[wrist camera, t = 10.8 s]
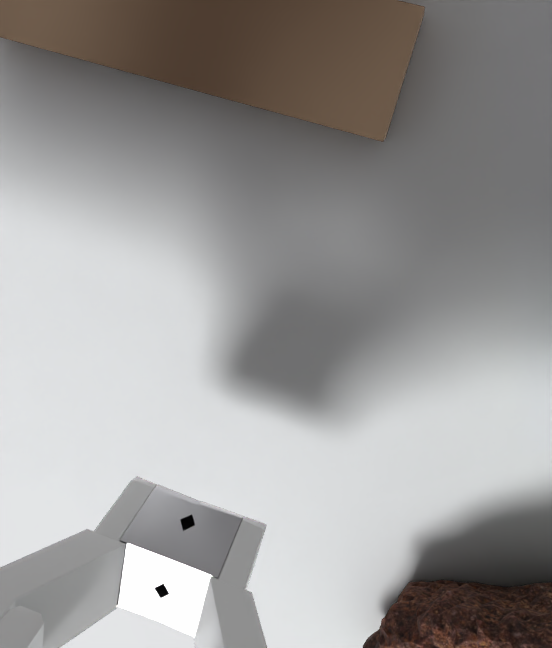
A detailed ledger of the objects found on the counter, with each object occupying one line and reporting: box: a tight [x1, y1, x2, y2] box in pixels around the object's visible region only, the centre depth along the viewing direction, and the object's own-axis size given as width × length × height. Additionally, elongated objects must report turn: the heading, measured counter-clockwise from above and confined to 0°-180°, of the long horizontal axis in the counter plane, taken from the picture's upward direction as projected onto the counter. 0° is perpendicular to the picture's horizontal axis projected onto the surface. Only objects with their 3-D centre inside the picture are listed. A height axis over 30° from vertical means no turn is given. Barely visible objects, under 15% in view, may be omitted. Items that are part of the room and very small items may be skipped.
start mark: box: [0, 0, 425, 142], centre depth 9 cm, size 8×2×1 cm, turn 76°
